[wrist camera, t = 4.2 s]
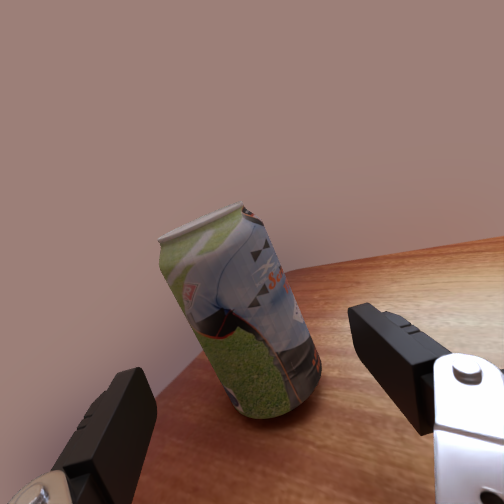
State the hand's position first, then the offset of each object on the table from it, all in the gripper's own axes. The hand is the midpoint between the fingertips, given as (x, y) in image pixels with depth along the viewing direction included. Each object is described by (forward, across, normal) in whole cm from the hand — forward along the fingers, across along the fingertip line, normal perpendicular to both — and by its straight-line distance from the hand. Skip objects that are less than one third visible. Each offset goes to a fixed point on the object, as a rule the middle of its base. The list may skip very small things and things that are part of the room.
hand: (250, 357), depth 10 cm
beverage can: (+6, 0, +7) cm, 9 cm away
